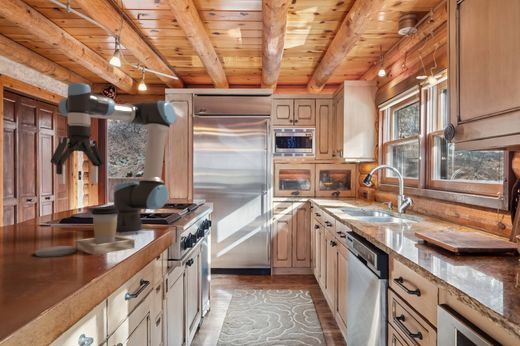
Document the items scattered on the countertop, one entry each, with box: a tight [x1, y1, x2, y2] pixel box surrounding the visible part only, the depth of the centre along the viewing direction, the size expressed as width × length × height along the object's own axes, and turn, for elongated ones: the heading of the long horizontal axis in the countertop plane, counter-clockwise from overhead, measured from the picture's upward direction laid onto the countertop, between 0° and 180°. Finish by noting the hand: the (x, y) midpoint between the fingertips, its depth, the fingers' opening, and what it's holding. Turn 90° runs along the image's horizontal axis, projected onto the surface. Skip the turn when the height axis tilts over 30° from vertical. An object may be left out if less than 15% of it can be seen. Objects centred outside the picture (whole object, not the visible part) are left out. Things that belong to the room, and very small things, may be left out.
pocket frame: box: [75, 234, 136, 256], centre depth 129 cm, size 15×15×3 cm
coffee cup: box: [91, 206, 119, 245], centre depth 129 cm, size 9×9×15 cm
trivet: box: [35, 245, 77, 258], centre depth 121 cm, size 12×12×1 cm
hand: (78, 183), depth 128 cm, fingers open, 13 cm apart
